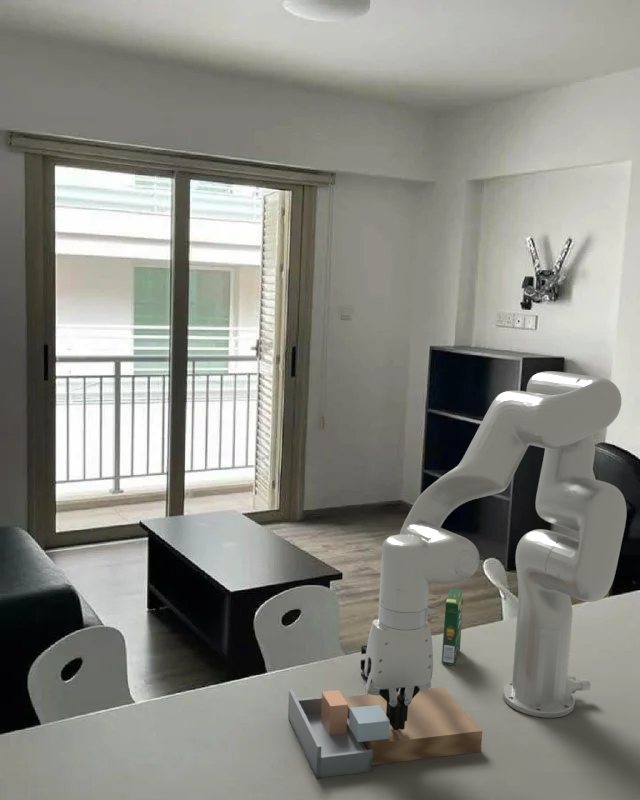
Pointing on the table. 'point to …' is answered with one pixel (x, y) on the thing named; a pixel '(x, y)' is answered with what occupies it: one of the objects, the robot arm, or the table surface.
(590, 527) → the robot arm
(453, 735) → the board
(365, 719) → the pale blue block
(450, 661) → the coffee box
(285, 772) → the table surface
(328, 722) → the block terracotta
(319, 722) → the box
